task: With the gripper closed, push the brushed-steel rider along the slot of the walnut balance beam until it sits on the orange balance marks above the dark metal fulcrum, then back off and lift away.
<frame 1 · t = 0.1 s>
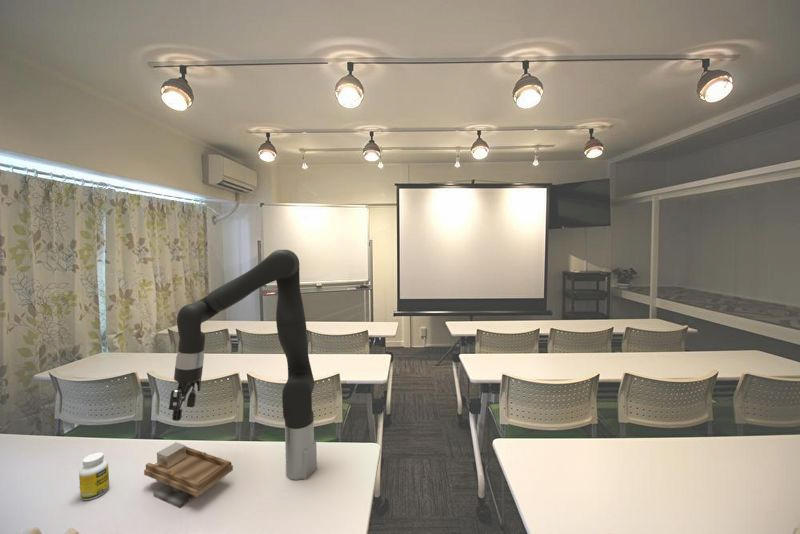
hand: (184, 413, 104), 22 cm above the table, tool pointing down, fingers open, 8 cm apart
pill bottle: (95, 493, 100), on the table
balance beam: (189, 485, 103), on the table
rider: (171, 455, 105), point 8 cm above the table, slide at 8.0 cm
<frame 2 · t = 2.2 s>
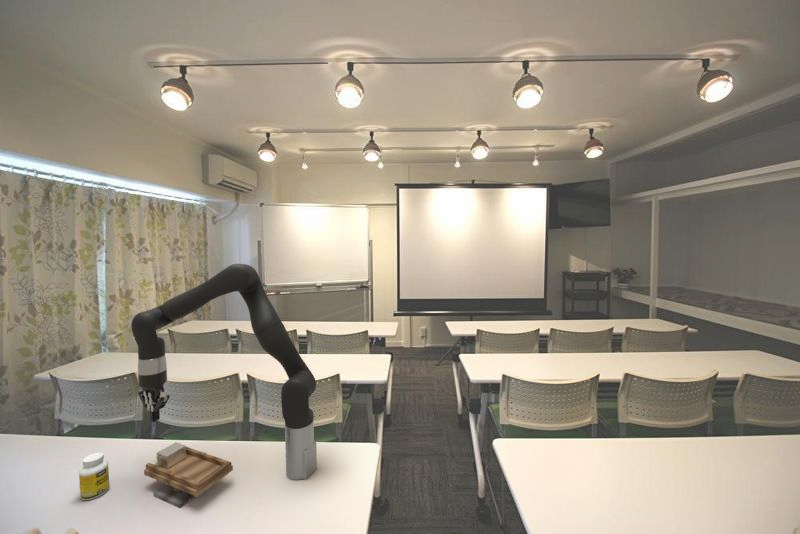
hand: (154, 420, 107), 18 cm above the table, tool pointing down, fingers closed
nothing on the table moved.
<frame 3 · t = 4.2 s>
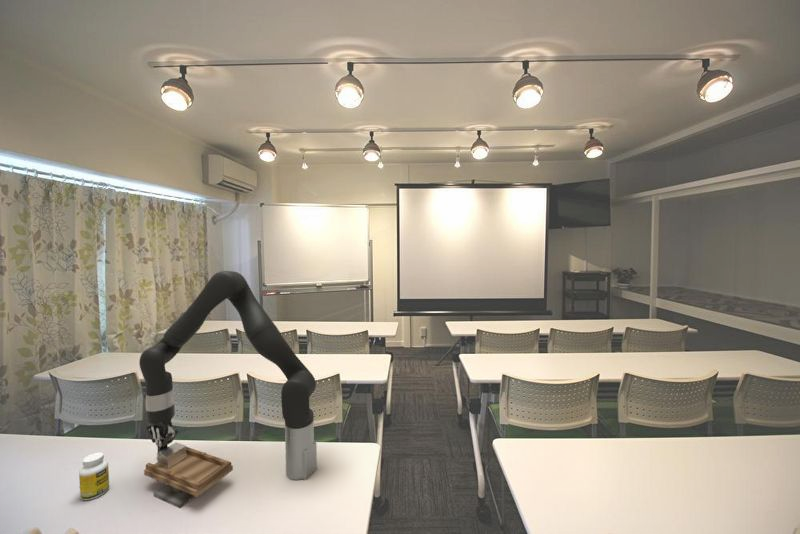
hand: (162, 455, 107), 7 cm above the table, tool pointing down, fingers closed
rider: (172, 455, 105), point 8 cm above the table, slide at 7.8 cm, touching gripper
everything else where it was.
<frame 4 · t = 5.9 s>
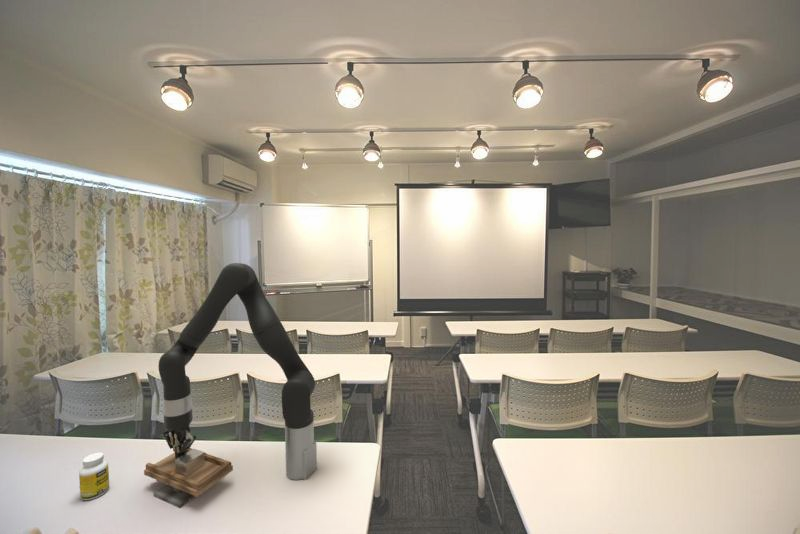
hand: (180, 461, 104), 7 cm above the table, tool pointing down, fingers closed
rider: (190, 461, 102), point 8 cm above the table, slide at -0.9 cm, touching gripper
everything else where it was.
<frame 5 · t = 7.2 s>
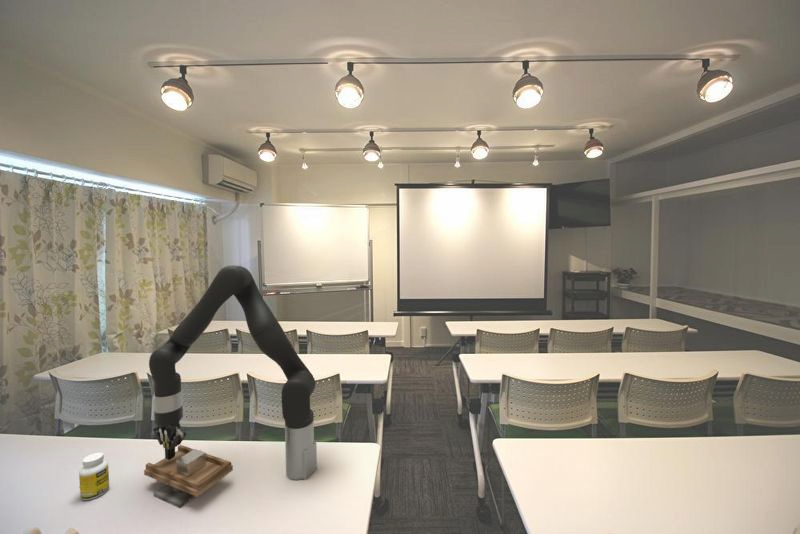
hand: (170, 457, 105), 7 cm above the table, tool pointing down, fingers closed
rider: (191, 462, 102), point 8 cm above the table, slide at -1.4 cm
everything else where it was.
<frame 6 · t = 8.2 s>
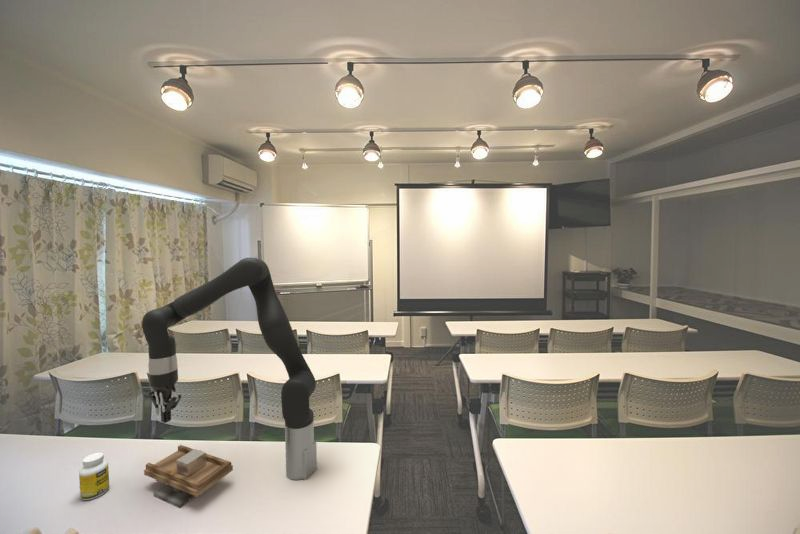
hand: (166, 421, 105), 19 cm above the table, tool pointing down, fingers closed
nothing on the table moved.
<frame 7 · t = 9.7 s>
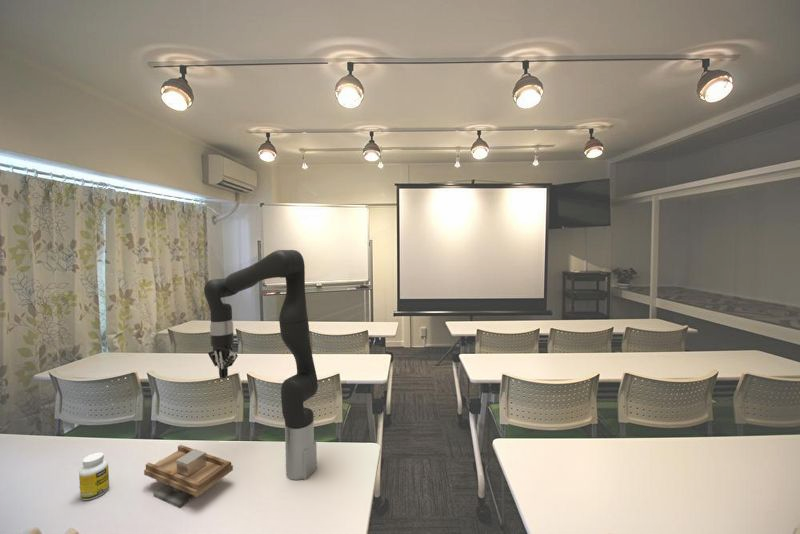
hand: (223, 377, 121), 27 cm above the table, tool pointing down, fingers closed
nothing on the table moved.
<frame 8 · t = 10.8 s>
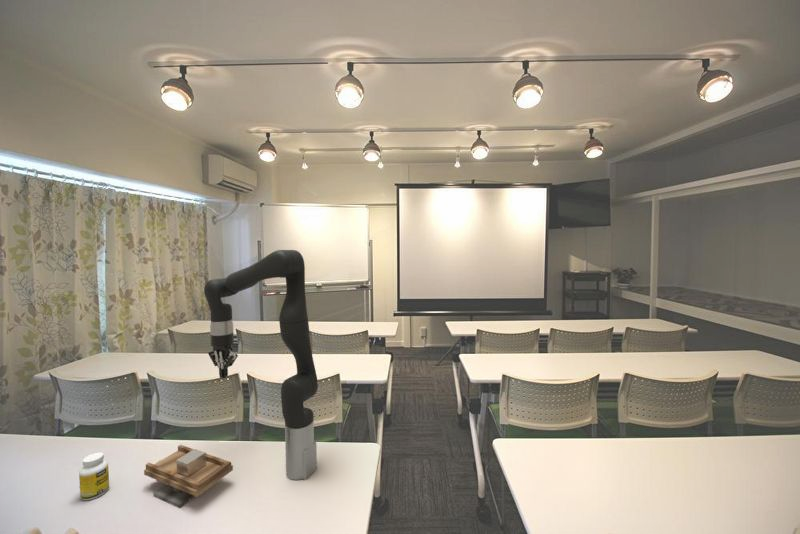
hand: (223, 377, 121), 27 cm above the table, tool pointing down, fingers closed
nothing on the table moved.
at the end: rider slide at -1.4 cm; pill bottle moved 0.2 cm from its start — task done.
